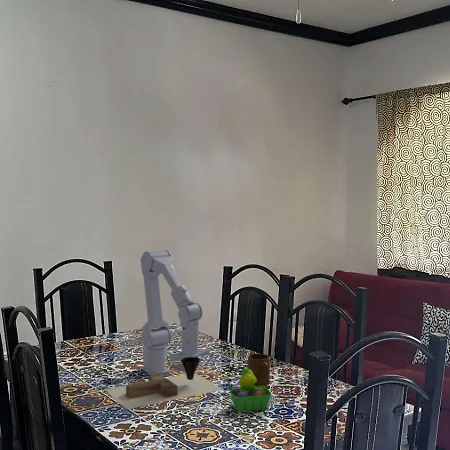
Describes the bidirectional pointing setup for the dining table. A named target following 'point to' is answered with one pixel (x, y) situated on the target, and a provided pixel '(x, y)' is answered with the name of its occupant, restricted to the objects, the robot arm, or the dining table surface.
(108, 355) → the dining table surface
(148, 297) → the robot arm
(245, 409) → the fruit basket
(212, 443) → the dining table surface
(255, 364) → the mug
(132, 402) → the mat
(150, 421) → the dining table surface
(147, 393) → the t block
